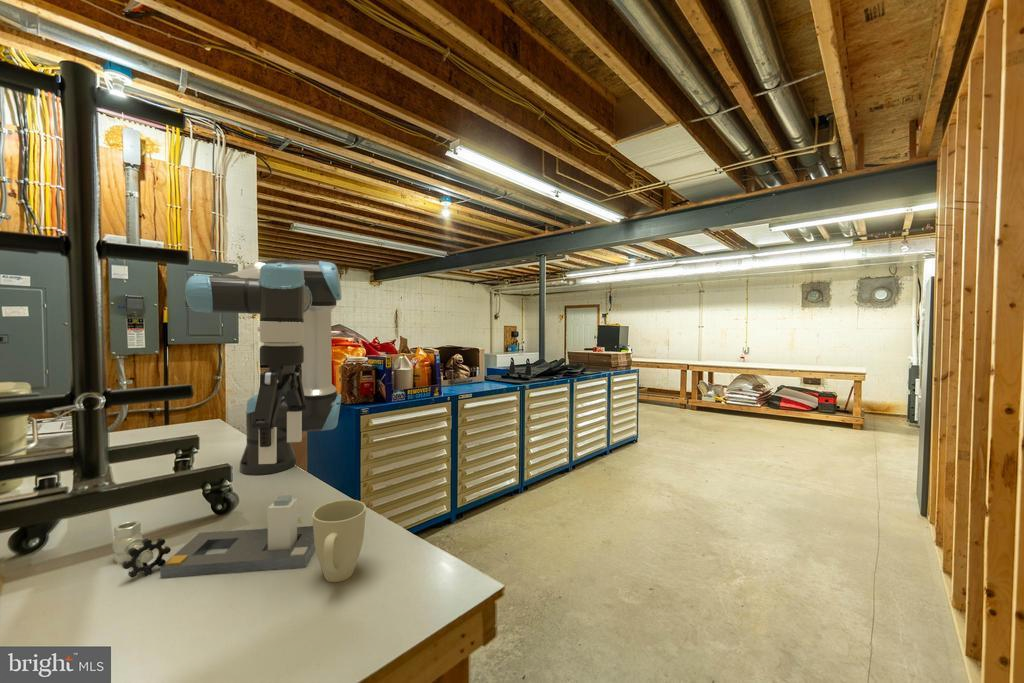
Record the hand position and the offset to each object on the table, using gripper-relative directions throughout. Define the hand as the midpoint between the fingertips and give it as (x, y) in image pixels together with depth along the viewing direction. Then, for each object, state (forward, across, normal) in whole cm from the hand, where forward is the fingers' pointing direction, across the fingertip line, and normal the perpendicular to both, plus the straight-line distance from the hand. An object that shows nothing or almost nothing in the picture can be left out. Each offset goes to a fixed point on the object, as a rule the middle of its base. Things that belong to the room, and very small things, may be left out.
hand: (282, 451), depth 80 cm
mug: (+21, +10, +13) cm, 26 cm away
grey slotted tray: (+20, 0, -6) cm, 21 cm away
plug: (+20, 0, 0) cm, 20 cm away
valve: (+21, +1, -25) cm, 32 cm away
